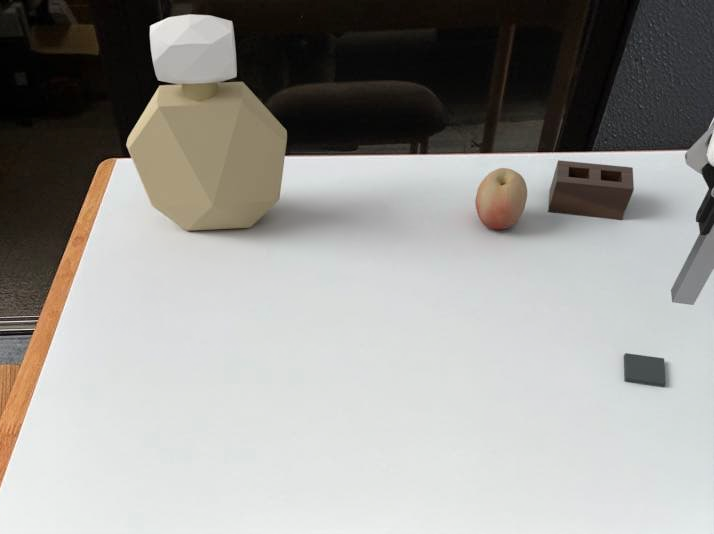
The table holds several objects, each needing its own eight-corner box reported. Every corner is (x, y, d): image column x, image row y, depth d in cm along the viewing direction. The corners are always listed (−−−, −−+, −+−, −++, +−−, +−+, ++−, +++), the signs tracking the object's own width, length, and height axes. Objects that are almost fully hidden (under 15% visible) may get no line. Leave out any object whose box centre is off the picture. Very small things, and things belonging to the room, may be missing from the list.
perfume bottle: (291, 236, 105) (282, 28, 82) (143, 243, 105) (91, 36, 82) (289, 196, 112) (280, -7, 89) (150, 203, 112) (103, 0, 89)
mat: (662, 361, 87) (664, 358, 87) (664, 387, 85) (666, 383, 84) (623, 356, 88) (625, 352, 88) (624, 381, 85) (626, 378, 85)
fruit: (464, 231, 105) (473, 181, 99) (479, 206, 109) (489, 156, 102) (513, 242, 103) (525, 192, 97) (526, 216, 107) (539, 166, 100)
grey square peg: (691, 292, 77) (757, 172, 66) (693, 305, 76) (760, 184, 64) (670, 290, 78) (731, 169, 66) (671, 302, 76) (734, 182, 65)
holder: (549, 190, 111) (558, 160, 107) (621, 197, 110) (632, 167, 105) (547, 211, 108) (556, 181, 104) (621, 219, 106) (634, 189, 102)
